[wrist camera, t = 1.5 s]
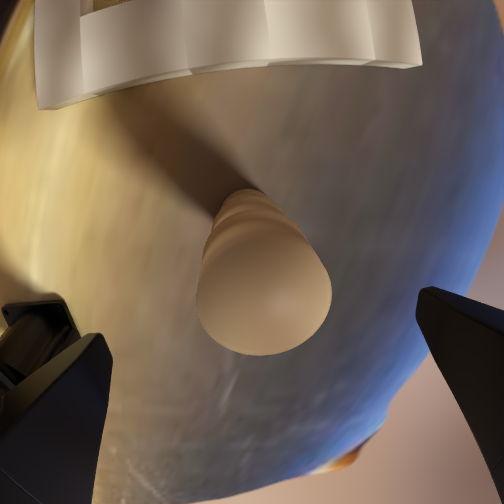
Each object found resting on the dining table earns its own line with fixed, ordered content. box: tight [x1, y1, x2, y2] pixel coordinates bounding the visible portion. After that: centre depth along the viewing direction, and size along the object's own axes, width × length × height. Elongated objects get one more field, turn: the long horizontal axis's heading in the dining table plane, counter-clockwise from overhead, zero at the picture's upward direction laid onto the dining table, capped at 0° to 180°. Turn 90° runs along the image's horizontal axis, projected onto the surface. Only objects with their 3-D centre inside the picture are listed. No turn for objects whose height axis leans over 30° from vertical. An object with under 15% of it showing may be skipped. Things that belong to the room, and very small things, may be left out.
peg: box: [196, 189, 332, 355], centre depth 13 cm, size 4×4×9 cm
